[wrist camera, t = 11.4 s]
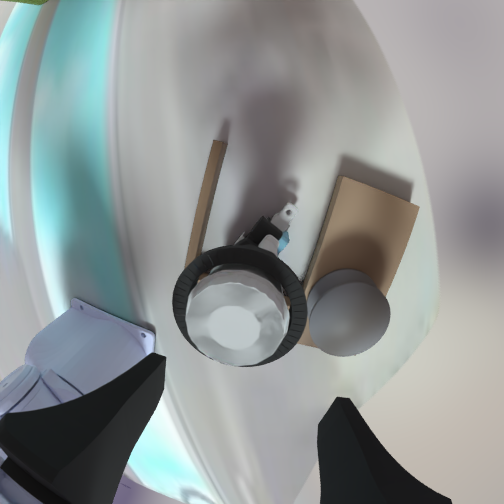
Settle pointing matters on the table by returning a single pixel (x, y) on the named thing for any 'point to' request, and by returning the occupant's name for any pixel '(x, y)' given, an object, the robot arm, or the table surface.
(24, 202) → the table surface
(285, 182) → the table surface
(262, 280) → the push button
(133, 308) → the table surface
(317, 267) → the notched board
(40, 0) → the plant pot
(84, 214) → the table surface
